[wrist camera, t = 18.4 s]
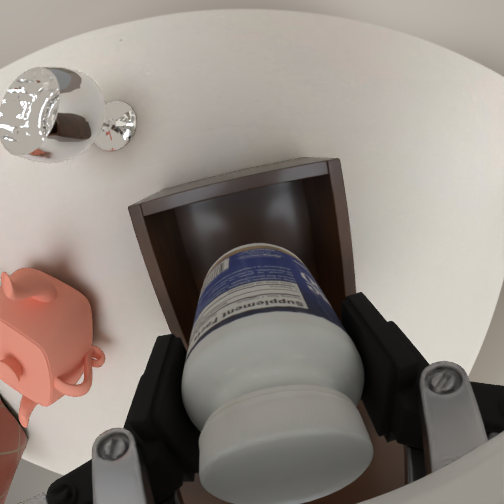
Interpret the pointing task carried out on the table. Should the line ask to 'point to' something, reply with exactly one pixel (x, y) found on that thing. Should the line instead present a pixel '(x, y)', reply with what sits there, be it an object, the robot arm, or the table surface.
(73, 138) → the wineglass
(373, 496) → the lid
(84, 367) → the teapot
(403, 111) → the table surface
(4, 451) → the planter
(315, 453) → the pill bottle
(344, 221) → the chest
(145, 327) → the table surface
